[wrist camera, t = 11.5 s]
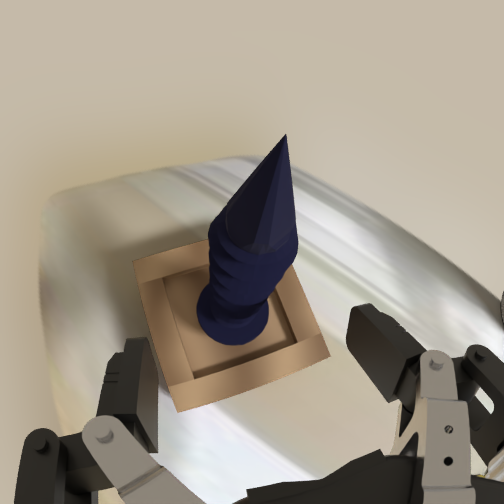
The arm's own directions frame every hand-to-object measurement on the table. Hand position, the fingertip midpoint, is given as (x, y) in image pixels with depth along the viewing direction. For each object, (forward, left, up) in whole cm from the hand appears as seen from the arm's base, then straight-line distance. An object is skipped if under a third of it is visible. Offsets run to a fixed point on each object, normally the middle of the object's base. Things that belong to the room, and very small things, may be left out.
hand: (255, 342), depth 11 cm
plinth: (-1, -3, -16) cm, 16 cm away
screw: (-1, -3, -11) cm, 12 cm away
